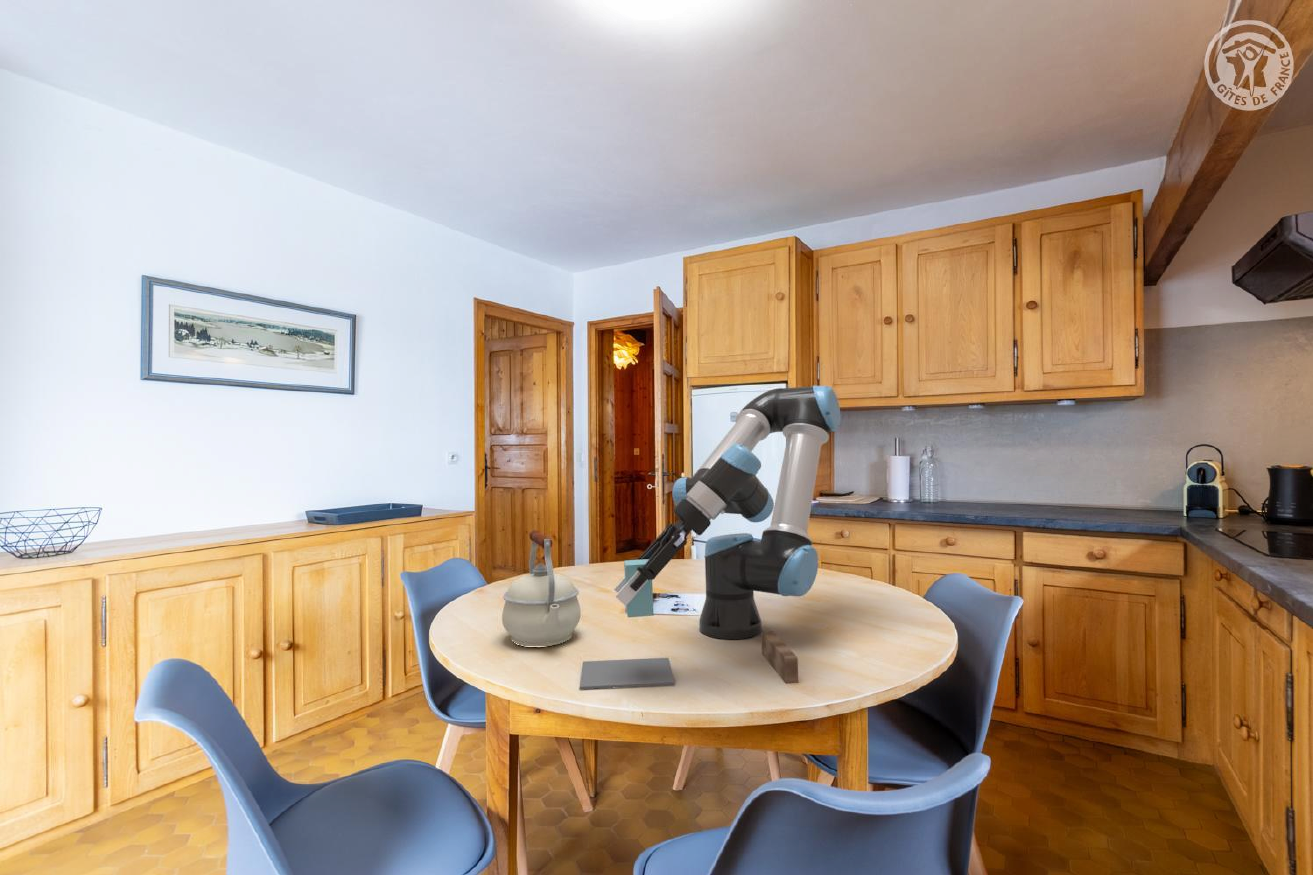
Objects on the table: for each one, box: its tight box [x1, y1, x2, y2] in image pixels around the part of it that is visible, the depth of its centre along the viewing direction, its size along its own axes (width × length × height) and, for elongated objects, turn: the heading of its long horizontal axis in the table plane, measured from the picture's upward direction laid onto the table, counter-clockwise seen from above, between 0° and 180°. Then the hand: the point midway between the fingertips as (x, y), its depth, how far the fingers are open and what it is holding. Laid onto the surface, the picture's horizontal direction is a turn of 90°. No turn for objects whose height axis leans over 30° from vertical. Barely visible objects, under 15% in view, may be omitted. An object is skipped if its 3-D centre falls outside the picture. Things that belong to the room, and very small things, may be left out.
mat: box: [579, 657, 676, 690], centre depth 119 cm, size 13×18×1 cm
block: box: [623, 559, 655, 618], centre depth 118 cm, size 5×5×10 cm
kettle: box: [501, 530, 581, 647], centre depth 141 cm, size 25×18×25 cm
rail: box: [761, 630, 799, 684], centre depth 122 cm, size 16×2×5 cm, turn 6°
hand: (619, 596), depth 118 cm, fingers closed on block, 5 cm apart
